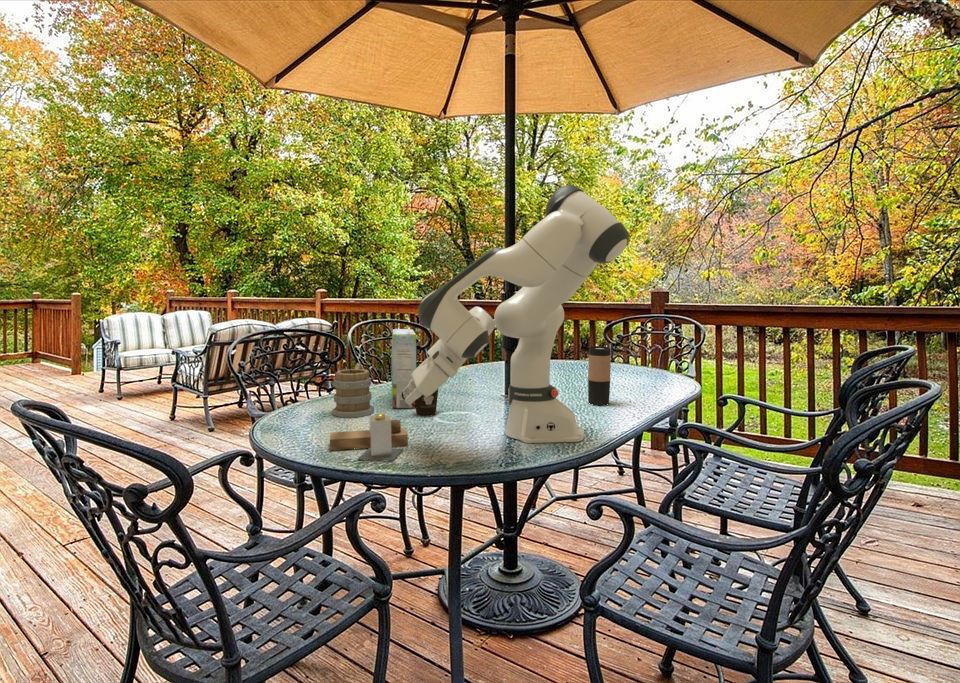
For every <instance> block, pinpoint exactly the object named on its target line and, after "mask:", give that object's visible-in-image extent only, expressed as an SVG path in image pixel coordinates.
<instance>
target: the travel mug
mask: <svg viewBox="0 0 960 683" xmlns="http://www.w3.org/2000/svg"><path fill="white" fill-rule="evenodd" d="M611 349H612V348H611V347H609V346H603V345H602V346H600V345H599V346H597V345H596V346H589V347H588V370H587V372H588V373H587V375H588V376H587V394H588V395H587V398H588V401H587V402H588V404H589V403H590V404H593V405H592V406H594V405H607V404H609V405H610V393H611V392H610V391H611V366H612V365H611V360H612V359H611V358H612V357H611V356H612V354H611V353H612V351H611ZM590 404H589V405H590ZM607 406H608V405H607Z"/></svg>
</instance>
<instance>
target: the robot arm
mask: <svg viewBox="0 0 960 683" xmlns="http://www.w3.org/2000/svg"><path fill="white" fill-rule="evenodd" d="M629 237H630V232H629V231H628V229H627V228H626V227H625V225H624V224H623V223H622V222H619V221H618V219H617V218H616V217H615V216H614V214H612V213H611V211H610V210H608V209H607V208H606V207H605V206H604V205H602V204H601V203H599V202H598V201H597V200H596V199H594V198H593V197H591V196H590V195H588V194H587V193H585V190H583V189H582V188H580V187H578V186H576V185H574V184H566V185H563V186H560V187H559V188H557V190H556V191H554V192H553V193H552V194H551V196H550V197H549V198H548V201H547V203H546V205H545V217H544V218H542V219H540V220H539V221H538V222H537V223H536V224H534V226H532V228H530V229H529V230H528V231H527V232H526V233H525V235H523V237H522V238H521V239H520V240H519V241H517V242H516V243H515V244H513V245H510V246H509V247H506V248H505V247H504V248H502V247H499V246H497V247H495V248H492V249H490V250H489V251H488V250H487V252H485V253H484V254H482V255H481V256H479V257H478V258H477V259H475V260H474V261H473V262H472V263H470V264H469V265H467V267H466V268H464V269H463V270H461V271H459V272H458V273H457V274H456V275H455V276H454V277H452V278H450V280H448V281H447V282H446V283H445V284H443V285H441V286H440V287H438V288H437V289H435V290H433V291H432V292H430V293H428V295H426V296H425V297H424V298H423V299H422V300H421V302H420V304H419V305H418V308H417V310H418V318H419V322H420V323H421V324H422V325H423V326H425V327H426V328H427V329H429V331H432V332H433V333H434V334H435V336H437V337H438V338H439V339H438V340H437V341H436V342H434V344H433V345H431V347H430V348H429V349H428V350H427V351H426V354H428V357H427V358H425V359H424V361H422V362H421V363H420V364H419V365H418V366H416V369H415V370H414V371H413V373H412V377H413V379H412V380H411V381H410V382H409V384H408V385H407V387H406V388H405V389H404V390H403V394H404V395H405V396H407V397H406V398H405V402H406V403H407V404H408V405H411V404H412V403H413V402H414V401H415V400H416V399H418V398H419V397H421V396H422V394H423V395H424V396H425V397H428V396H430V395H431V394H433V393H434V392H435V391H436V390H437V389H438V390H439V388H441V387H442V386H443V385H444V384H445V383H446V382H447V381H448V380H449V378H450V379H452V378H454V377H455V376H456V375H457V374H458V372H459V369H460V368H461V367H462V366H463V364H465V362H466V361H467V359H476V357H477V356H478V355H479V354H480V352H482V351H483V350H484V348H486V347H487V346H488V345H489V343H490V342H489V340H490V335H491V334H492V333H493V331H494V329H495V328H496V330H498V332H499V333H500V334H501V335H503V336H505V337H509V338H515V339H519V341H518V343H517V346H516V349H515V350H514V352H512V354H511V356H510V376H509V377H510V384H509V385H508V390H507V391H508V398H507V399H508V400H507V401H508V405H509V408H508V409H509V410H508V415H507V422H506V425H505V428H504V429H505V430H504V435H505V436H507V437H509V438H511V439H515V440H518V441H521V442H523V443H525V444H534V443H535V444H536V443H537V444H539V443H542V444H543V443H577V442H580V441H583V440H584V439H585V431H584V429H583V428H582V427H581V426H578V424H577V420H576V416H575V414H574V411H573V410H572V409H571V408H569V407H568V406H566V405H565V404H564V403H563V402H562V401H560V399H558V396H559V390H558V388H556V386H553V385H552V384H550V383H551V382H550V379H551V378H550V374H551V358H552V357H551V356H552V351H553V347H554V344H555V340H556V336H557V334H558V331H559V329H560V327H561V326H562V325H563V323H564V321H565V310H564V308H563V306H562V305H563V304H565V303H566V302H568V301H569V300H570V299H571V298H572V297H573V296H574V294H575V293H576V292H577V291H578V290H579V288H580V287H581V286H582V285H583V284H584V282H585V281H586V280H587V278H588V277H589V276H590V275H591V273H592V272H593V270H594V269H595V268H596V266H597V265H598V264H608V263H611V262H613V261H614V260H615V259H617V258H618V257H619V256H620V255H621V254H622V253H623V252H624V251H625V249H626V247H627V246H628V243H629V240H630V238H629ZM484 277H494V278H495V277H496V278H499V279H502V280H503V281H506V282H509V283H511V284H514V285H516V286H519V287H521V288H520V289H519V290H518V291H517V292H515V293H514V294H513V295H512V296H511V297H510V298H508V299H506V300H504V301H503V302H501V303H500V304H499V305H498V306H497V307H496V310H495V311H494V317H492V316H491V314H489V312H488V311H486V310H485V309H484V308H482V307H480V306H474V307H472V308H471V309H470V310H468V309H467V308H466V307H465V306H464V305H463V304H462V303H461V301H459V298H458V296H459V295H461V294H462V293H464V292H465V291H466V290H468V289H469V288H470V287H471V286H473V285H474V284H475V283H476V282H478V281H479V280H480V279H482V278H484ZM413 390H414V391H413ZM412 391H413V392H412Z"/></svg>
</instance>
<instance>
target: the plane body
mask: <svg viewBox="0 0 960 683" xmlns="http://www.w3.org/2000/svg"><path fill="white" fill-rule="evenodd" d="M401 422H402V421H401V420H400V419H391V442H392V446H396V447H406V445H409V442H408V438H409V437H408V432H407V430H406V427H402V426H401ZM329 435H330V436H329V451H330V450H339V451H343V450H342V449H353V450H357V449H356V448H368V449H369V448H370V429H367V430H349V431H347V430H346V431H334V432H330V434H329ZM354 448H355V449H354Z"/></svg>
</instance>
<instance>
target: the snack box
mask: <svg viewBox="0 0 960 683" xmlns="http://www.w3.org/2000/svg"><path fill="white" fill-rule="evenodd" d="M391 331H392V333H391V334H392V335H391V336H392V337H391V401H392V409H416V408H415V407H414V406H413V405H408V404H407V403H406V402H405V400H404V399H403V398H402V391H403V390H404V389H405V388H406V387H407V385H408V384H409V382H410V381H411V380H412V379H413V377H412V373H413V371H414V370H415V369H416V368H417V334H416V333H415V331H414V329H412V328H411V329H410V328H400V329H399V328H394V329H393V328H392V330H391ZM403 397H404V398H406V397H407V396H405V395H404V394H403ZM413 404H415V401H414V402H413Z"/></svg>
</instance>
